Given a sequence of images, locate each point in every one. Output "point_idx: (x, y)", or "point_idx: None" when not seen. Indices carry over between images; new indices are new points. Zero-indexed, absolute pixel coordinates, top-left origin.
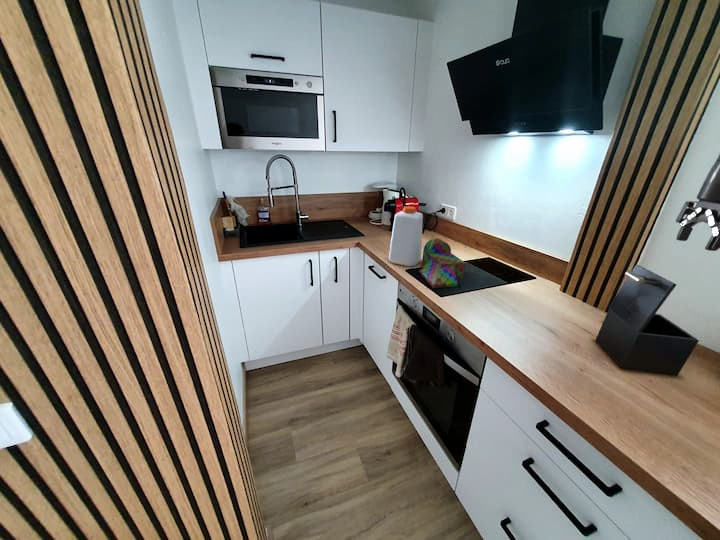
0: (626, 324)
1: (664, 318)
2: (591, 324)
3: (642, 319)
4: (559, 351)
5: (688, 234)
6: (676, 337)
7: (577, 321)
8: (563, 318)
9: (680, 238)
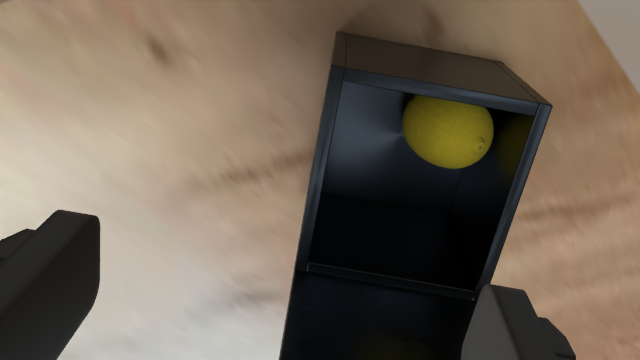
0: (413, 289)
1: (371, 82)
2: (188, 121)
3: None
4: None
5: (58, 276)
6: (521, 183)
7: (172, 163)
8: (156, 204)
9: (88, 299)
